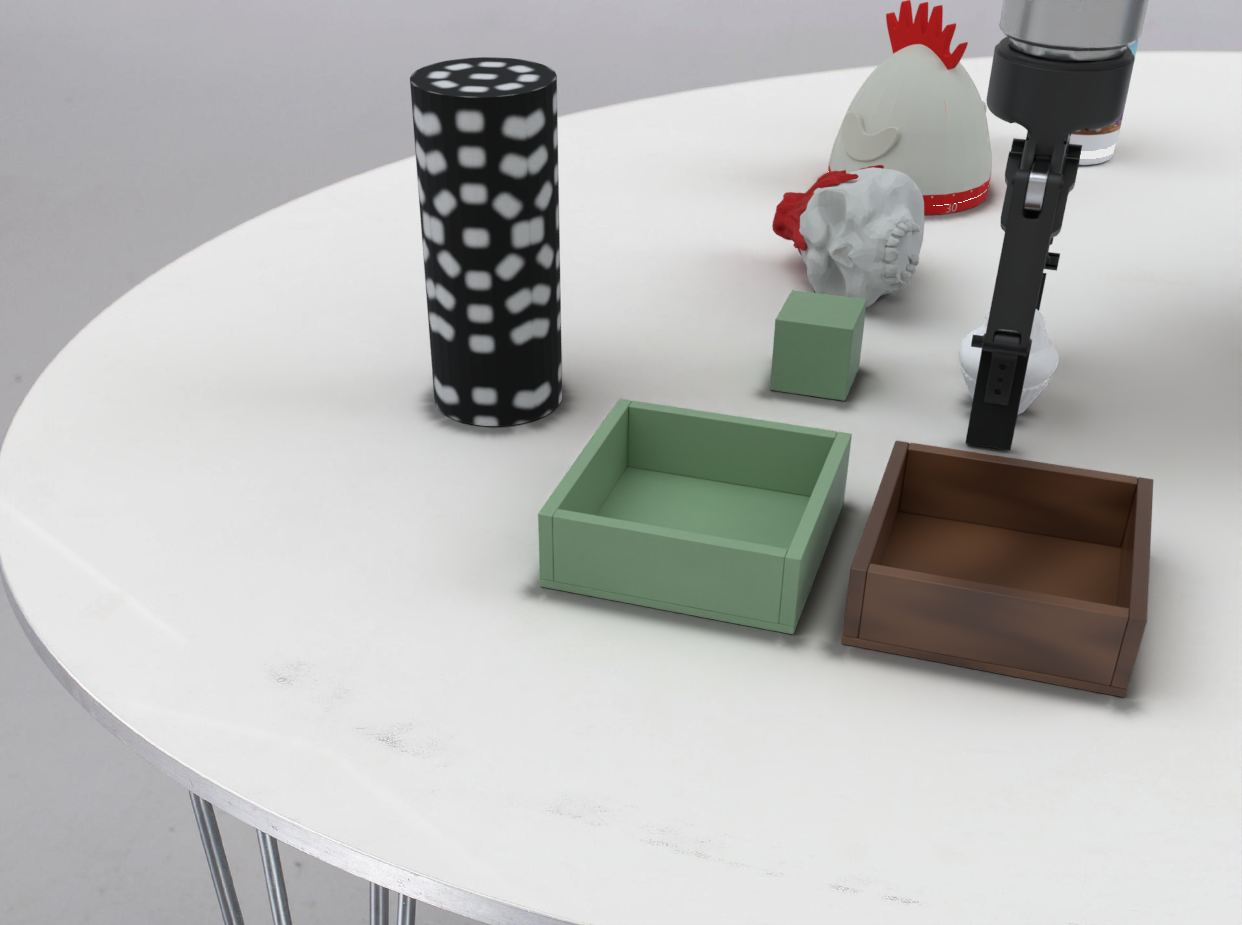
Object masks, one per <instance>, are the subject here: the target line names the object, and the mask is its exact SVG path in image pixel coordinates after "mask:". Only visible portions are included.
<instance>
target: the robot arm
mask: <svg viewBox="0 0 1242 925" xmlns="http://www.w3.org/2000/svg"><path fill="white" fill-rule="evenodd" d="M1149 1H1150V0H1003V1H1002V6H1001V12H1000V19H999V23H998V24H999V25H998V26H999V29H1000V30H1001V32H1002V33H1003V34H1004V36H1005V37H1003V38H1002V39H1001V40H999V43H997V44H996V45H995V46H994V50H993V56H992V63H991V67H990V75H989V80H988V81H989V82H988V88H987V94H986V107H987V108H988V110H989V111H990V113H991V114H992V115H993V116H995V117H996V118H998V119H1000V120H1002V121H1003V122H1006V123H1008V124H1017V125H1020V126H1021V127H1023V128H1024V129H1025V130H1026V131H1027V132H1026V137H1025V139H1024V138H1016V137H1014V138H1012V142H1011V148H1010V150H1009V151H1008V155H1007V161H1006V165H1005V170H1004V184H1005V185H1006V188H1005V193H1004V199H1003V204H1002V209H1001V213H1000V228H1001V229H1002V231H1003V232H1004V235H1003V240H1002V246H1001V251H1000V256H999V262H998V265H997V266H998V267H997V272H996V277H995V283H994V288H993V294H992V297H991V298H992V299H991V303H990V310H989V312H990V314H989V319H988V324H987V330H986V334H985V333H984V335H983V336H980V335H973V337H972V343H971V347H977V348H982V351H981V357H980V363H979V368H978V374H977V380H976V385H975V391H974V397H973V400H972V402H971V409H970V415H969V420H968V426H967V431H966V437H965V443H964V444H966V445H972V446H979V447H986V448H991V449H998V450H1003V451H1011V449H1012V445H1013V439H1014V434H1015V430H1016V424H1017V419H1018V416H1019V415H1018V410H1019V405H1020V400H1021V395H1022V390H1023V385H1024V379H1025V374H1026V369H1027V364H1028V359H1029V354H1030V349H1031V344H1032V340H1031V338H1030V336H1031V331H1032V326H1033V321H1034V316H1035V311H1036V309H1037V310H1038V311H1039V312H1040V309H1041V303H1042V298H1043V293H1044V288H1045V283H1046V278H1047V274H1048V273H1047V272H1044V271H1045V270H1050V271H1058V267H1059V262H1060V257H1061V253H1059V252H1052V251H1050V246H1052V245H1053V243H1054V238H1055V237H1057V236H1058V235H1059V234H1060V233H1061V230H1062V228H1063V222H1064V216H1065V212H1066V207H1067V203H1068V197H1069V194H1070V193H1071V192H1072V191H1073V189H1074V187H1075V185H1076V179H1077V176H1078V170H1079V166H1080V165H1079V161H1080V155H1081V150H1082V145H1077V144H1070V139H1071V133H1072V132H1074V131H1077V130H1082V129H1085V130H1087V131H1090V130H1096V129H1100V128H1104V127H1107V126H1109V125H1111V124H1113V123H1115V122H1116V121H1117V120H1118V119H1119V118H1120V117H1121V115H1122V114H1123V115H1124V113H1123V111H1124V112H1125V108H1126V104H1125V102H1126V103H1127V99H1126V97H1127V98H1128V94H1127V93H1129V90H1128V88H1129V89H1130V85H1129V84H1131V80H1132V75H1131V74H1133V70H1134V64H1135V62H1136V61H1135V60H1136V56H1135V57H1134V55H1133V54H1132V51H1131V49H1130V48H1129V47H1128V46H1129V45H1132V44H1133V43H1134V42H1136V41H1137V40H1138V39H1140V38H1141V37H1142V33H1143V28H1144V24H1145V20H1146V16H1147V15H1146V14H1147V10H1148V5H1149ZM1138 41H1139V40H1138ZM1130 79H1131V80H1130ZM1124 107H1125V108H1124ZM1003 329H1004V330H1003ZM1010 330H1012V331H1010Z"/></svg>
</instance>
